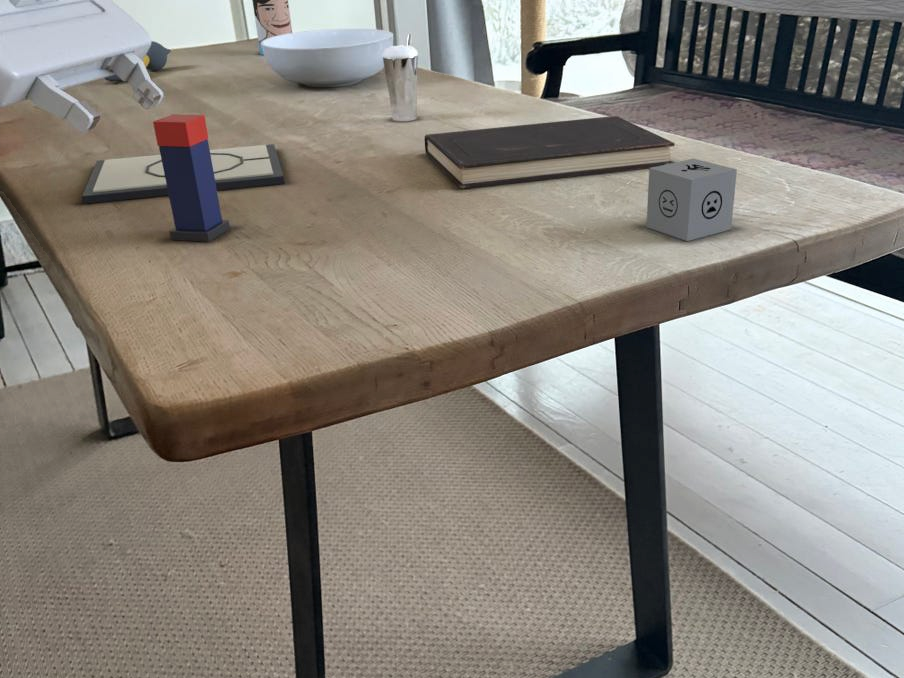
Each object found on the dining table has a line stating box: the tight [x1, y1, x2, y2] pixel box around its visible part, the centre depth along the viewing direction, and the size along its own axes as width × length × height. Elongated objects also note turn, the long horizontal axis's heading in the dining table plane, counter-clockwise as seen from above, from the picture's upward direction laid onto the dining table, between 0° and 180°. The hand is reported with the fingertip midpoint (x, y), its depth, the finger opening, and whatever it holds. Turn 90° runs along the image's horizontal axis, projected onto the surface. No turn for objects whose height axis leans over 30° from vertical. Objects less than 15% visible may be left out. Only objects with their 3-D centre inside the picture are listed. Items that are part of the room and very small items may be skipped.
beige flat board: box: [81, 143, 285, 205], centre depth 104 cm, size 20×16×1 cm
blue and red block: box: [152, 113, 231, 243], centre depth 82 cm, size 4×4×10 cm
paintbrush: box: [103, 40, 172, 82], centre depth 168 cm, size 20×5×5 cm, turn 170°
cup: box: [252, 0, 293, 56], centre depth 184 cm, size 7×7×15 cm
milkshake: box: [382, 33, 419, 122], centre depth 124 cm, size 5×5×10 cm
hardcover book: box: [424, 115, 675, 190], centre depth 103 cm, size 16×23×2 cm
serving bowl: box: [261, 28, 394, 88], centre depth 152 cm, size 21×21×7 cm
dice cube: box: [645, 158, 738, 242], centre depth 80 cm, size 5×5×5 cm
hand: (125, 113), depth 81 cm, fingers open, 8 cm apart
